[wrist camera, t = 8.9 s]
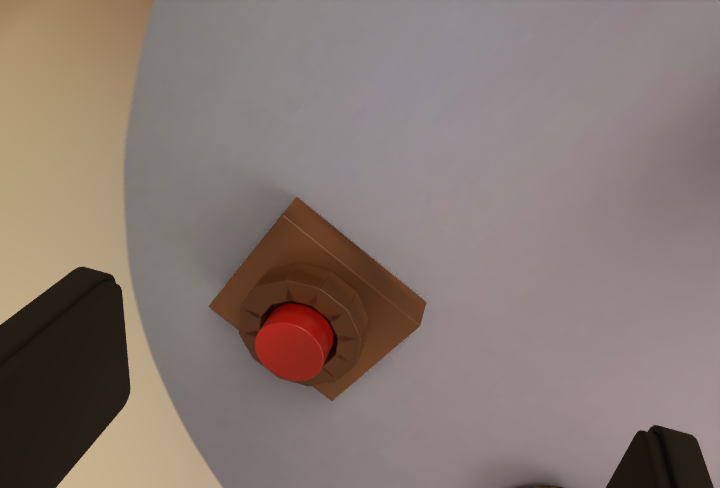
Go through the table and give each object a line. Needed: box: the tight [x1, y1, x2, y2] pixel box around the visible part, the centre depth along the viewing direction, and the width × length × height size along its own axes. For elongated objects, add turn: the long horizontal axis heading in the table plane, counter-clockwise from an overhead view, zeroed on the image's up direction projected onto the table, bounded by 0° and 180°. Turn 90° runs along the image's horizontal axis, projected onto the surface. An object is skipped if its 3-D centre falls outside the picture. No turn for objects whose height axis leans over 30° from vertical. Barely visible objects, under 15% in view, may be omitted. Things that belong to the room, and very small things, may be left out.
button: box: [255, 303, 333, 381], centre depth 29 cm, size 4×4×2 cm
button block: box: [209, 198, 426, 401], centre depth 31 cm, size 9×8×4 cm
